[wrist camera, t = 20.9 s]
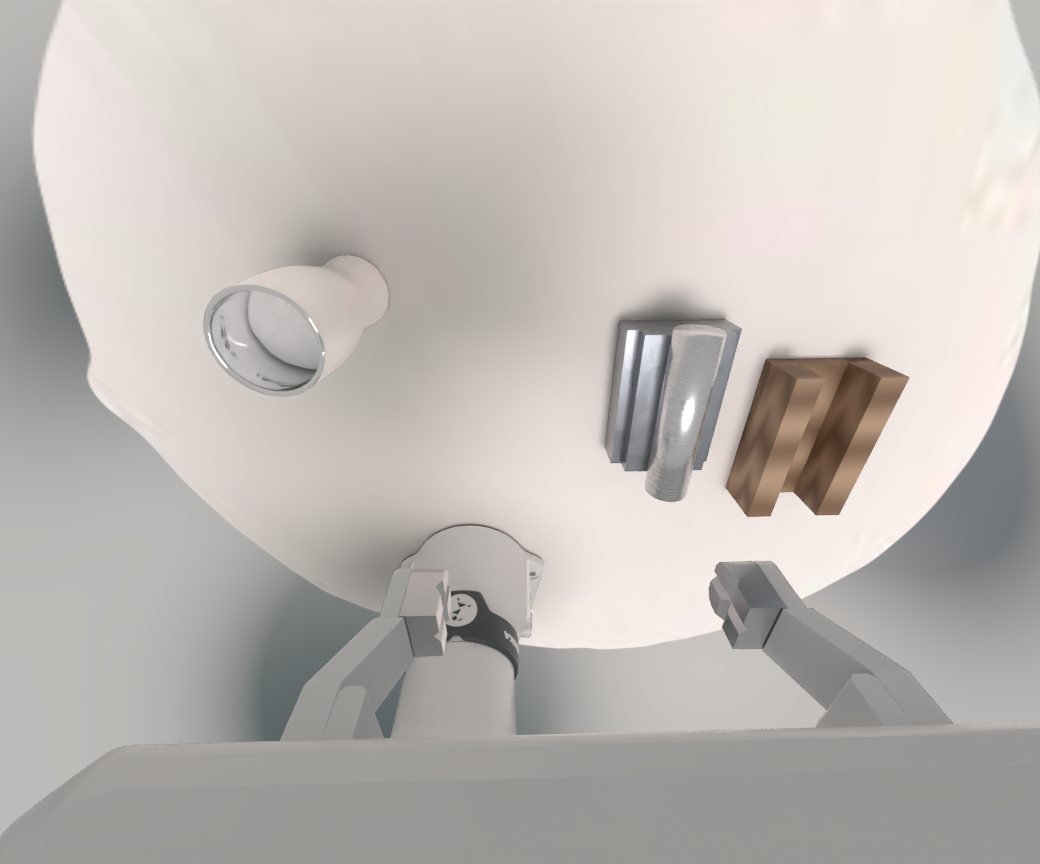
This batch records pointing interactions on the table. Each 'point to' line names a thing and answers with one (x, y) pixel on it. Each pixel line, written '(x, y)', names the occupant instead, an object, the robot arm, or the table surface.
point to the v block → (654, 389)
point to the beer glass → (294, 323)
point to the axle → (683, 408)
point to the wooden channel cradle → (811, 431)
